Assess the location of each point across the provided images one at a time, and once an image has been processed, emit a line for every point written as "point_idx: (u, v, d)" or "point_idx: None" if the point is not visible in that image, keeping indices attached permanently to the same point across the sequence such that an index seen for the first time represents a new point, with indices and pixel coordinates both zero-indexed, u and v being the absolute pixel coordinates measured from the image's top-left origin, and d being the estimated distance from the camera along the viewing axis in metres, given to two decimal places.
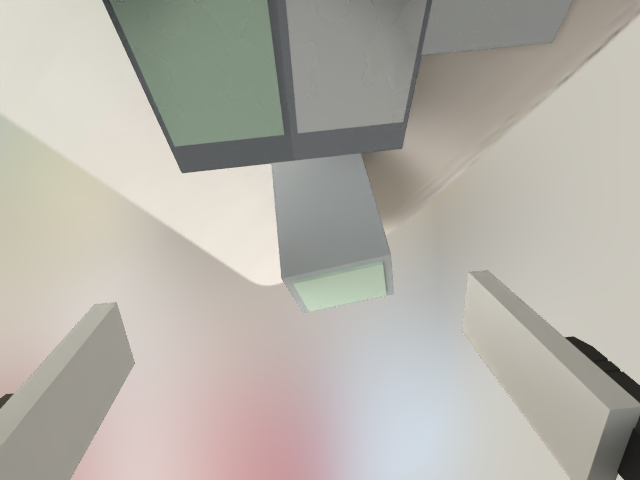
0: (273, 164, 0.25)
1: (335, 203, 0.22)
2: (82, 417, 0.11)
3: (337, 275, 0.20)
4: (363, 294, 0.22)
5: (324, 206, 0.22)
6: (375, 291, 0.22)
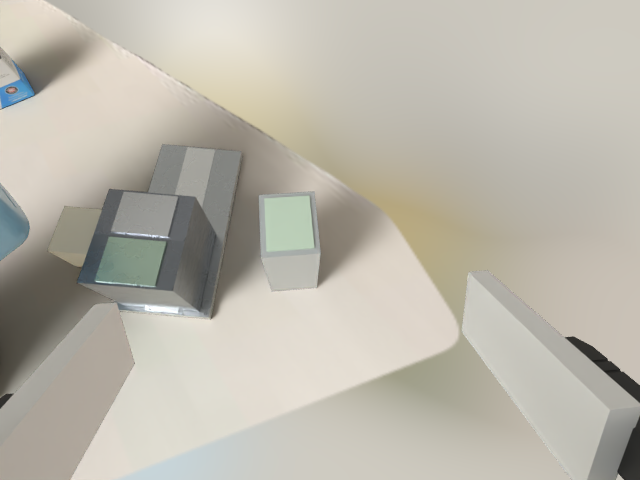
0: (270, 285, 0.39)
1: None
2: (82, 417, 0.11)
3: (266, 224, 0.31)
4: (301, 209, 0.32)
5: None
6: (300, 202, 0.32)
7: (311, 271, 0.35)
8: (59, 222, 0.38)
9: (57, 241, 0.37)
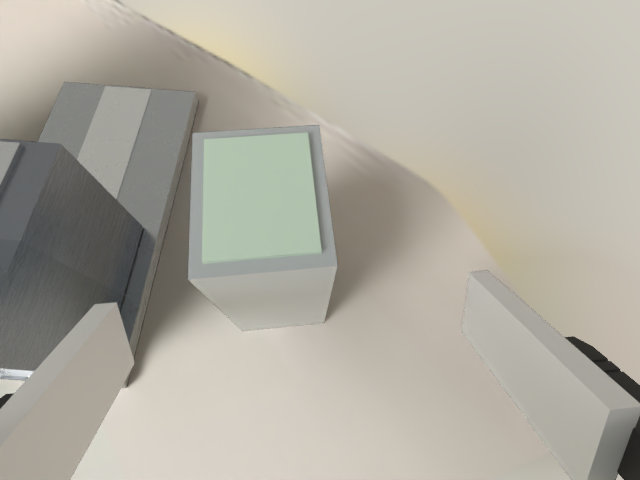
0: None
1: None
2: (82, 417, 0.11)
3: (206, 196, 0.13)
4: (289, 163, 0.14)
5: None
6: (286, 147, 0.14)
7: (314, 300, 0.17)
8: None
9: None
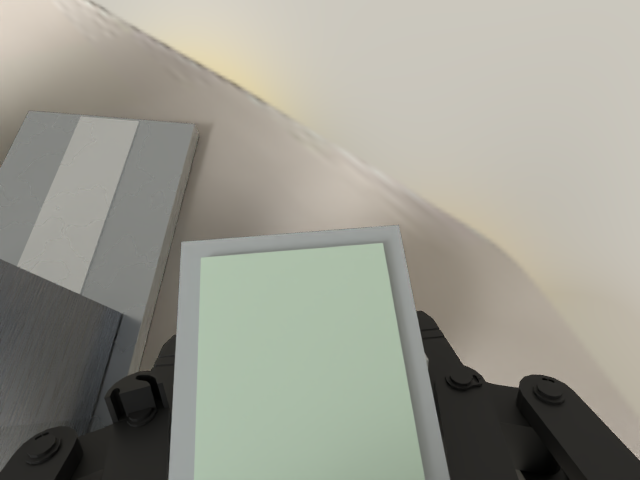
0: None
1: None
2: None
3: (203, 381, 0.07)
4: (354, 307, 0.08)
5: None
6: (347, 273, 0.08)
7: None
8: None
9: None
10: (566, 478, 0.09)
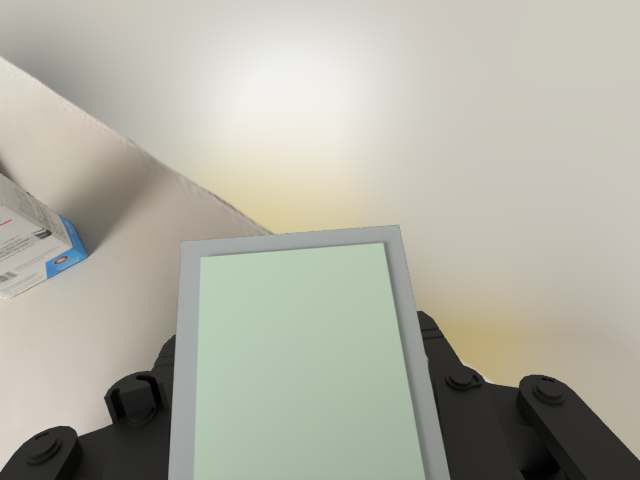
0: None
1: None
2: None
3: (203, 382, 0.07)
4: (354, 307, 0.08)
5: None
6: (347, 273, 0.08)
7: None
8: None
9: None
10: (566, 478, 0.09)
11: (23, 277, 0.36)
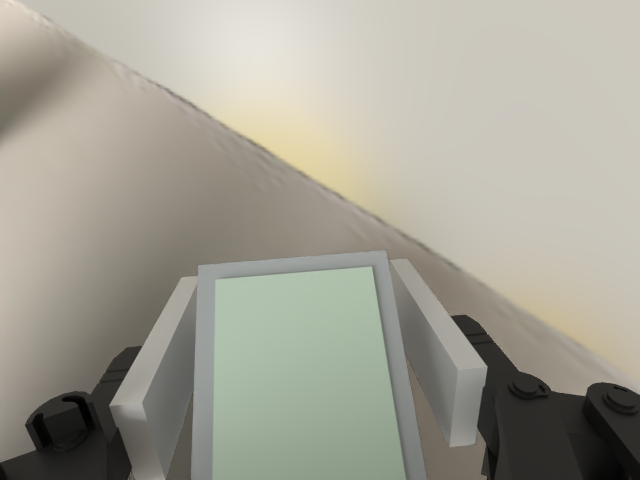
0: None
1: None
2: (188, 369, 0.12)
3: (219, 386, 0.08)
4: (346, 323, 0.09)
5: None
6: (341, 293, 0.09)
7: None
8: None
9: None
10: None
11: None
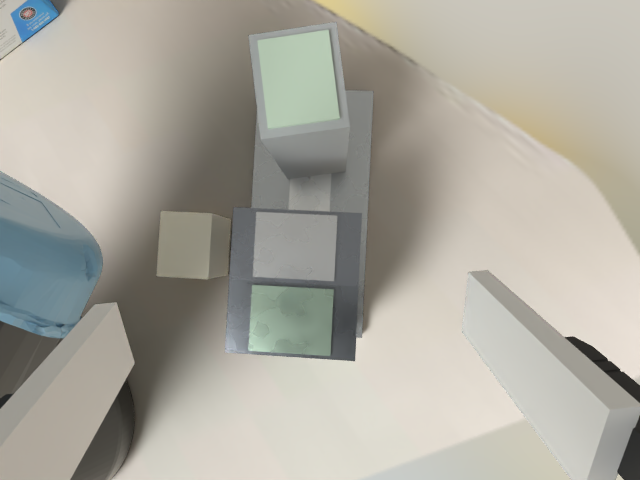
0: None
1: None
2: (82, 417, 0.11)
3: (264, 84, 0.20)
4: (316, 56, 0.20)
5: None
6: (314, 43, 0.20)
7: (337, 152, 0.25)
8: (159, 234, 0.28)
9: (165, 262, 0.28)
10: None
11: None
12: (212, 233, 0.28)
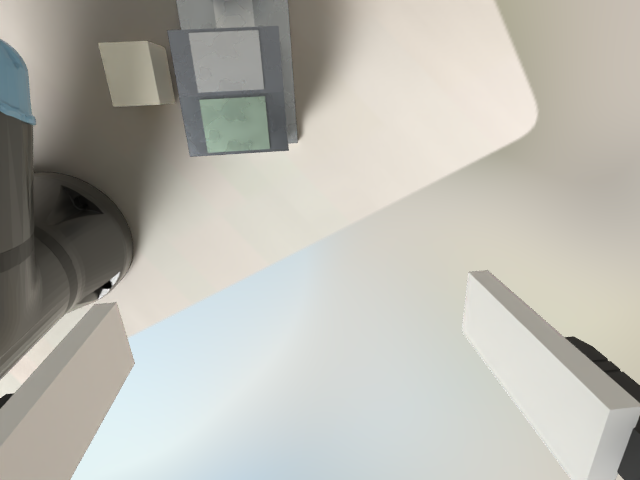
0: None
1: None
2: (82, 417, 0.11)
3: None
4: None
5: None
6: None
7: None
8: (104, 67, 0.31)
9: (118, 93, 0.32)
10: None
11: None
12: (152, 61, 0.31)
